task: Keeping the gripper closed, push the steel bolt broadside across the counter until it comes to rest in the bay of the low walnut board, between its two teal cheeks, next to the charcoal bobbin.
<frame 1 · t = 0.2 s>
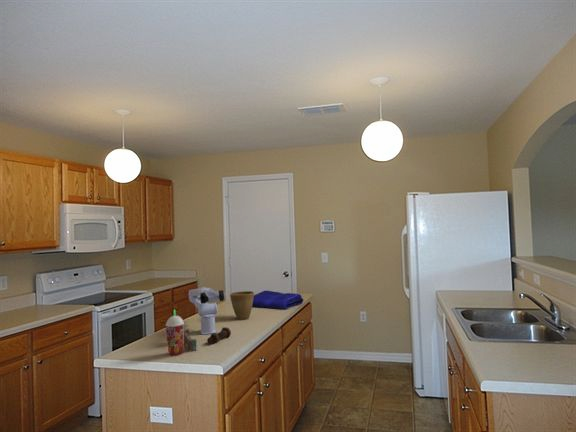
hand: (215, 298, 201), 21 cm above the worktop, tool horizontal, fingers open, 7 cm apart
bobbin: (176, 344, 198), on the worktop
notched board: (187, 345, 195), on the worktop
bolt: (218, 341, 201), on the worktop
smoothie: (176, 354, 183), on the worktop
towel: (274, 305, 289), on the worktop
plant pot: (242, 318, 249), on the worktop
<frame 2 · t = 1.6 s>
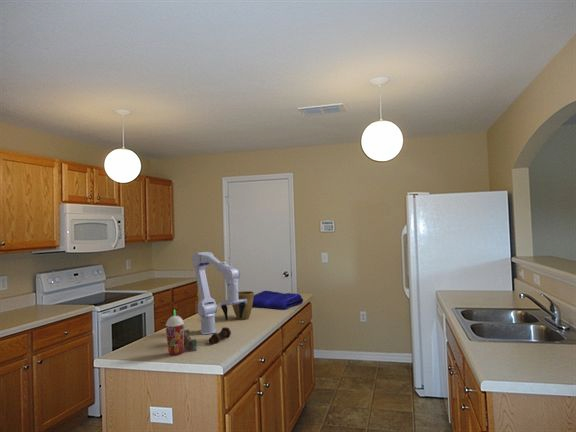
hand: (233, 318, 205), 10 cm above the worktop, tool pointing down, fingers open, 7 cm apart
nothing on the worktop moved.
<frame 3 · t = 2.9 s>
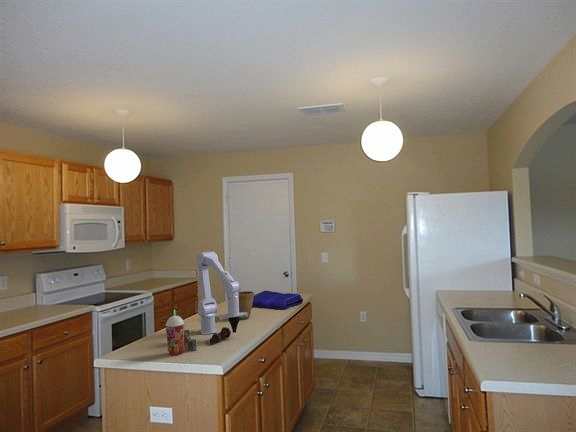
hand: (234, 332, 205), 3 cm above the worktop, tool pointing down, fingers closed
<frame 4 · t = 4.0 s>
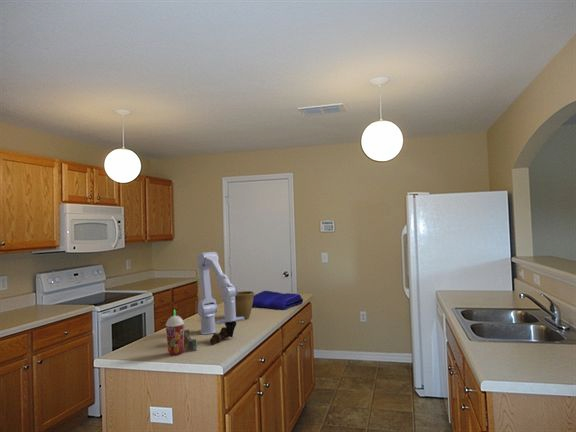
hand: (230, 336, 204), 1 cm above the worktop, tool pointing down, fingers closed
bolt: (219, 341, 201), on the worktop, touching gripper
everything else where it was.
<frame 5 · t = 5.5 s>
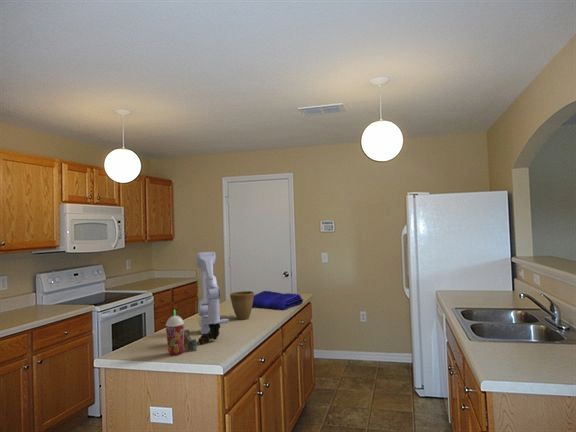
hand: (214, 339, 201), 1 cm above the worktop, tool pointing down, fingers closed
bolt: (208, 341, 202), on the worktop
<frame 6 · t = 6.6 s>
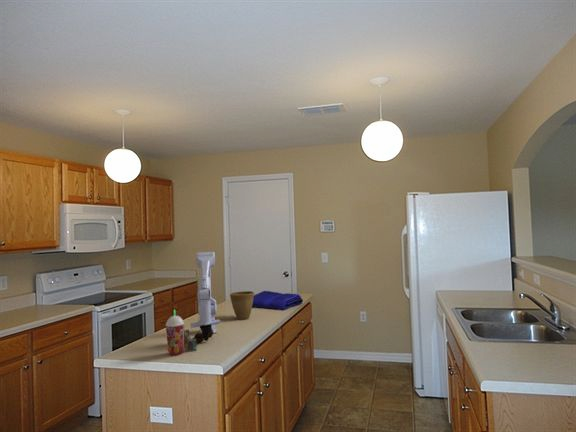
hand: (206, 340, 199), 1 cm above the worktop, tool pointing down, fingers closed
bolt: (201, 341, 203), on the worktop, touching gripper
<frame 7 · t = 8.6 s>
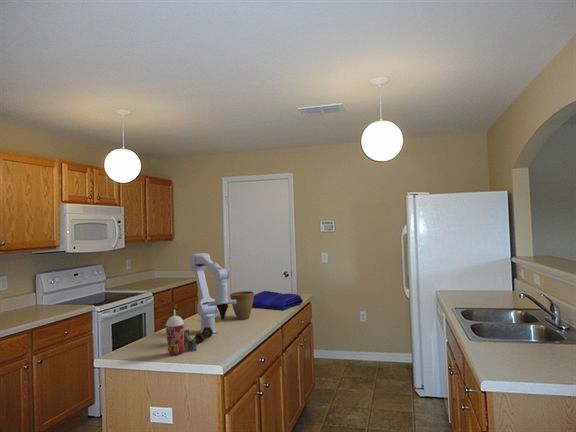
hand: (222, 319, 206), 10 cm above the worktop, tool pointing down, fingers closed
bolt: (202, 341, 203), on the worktop
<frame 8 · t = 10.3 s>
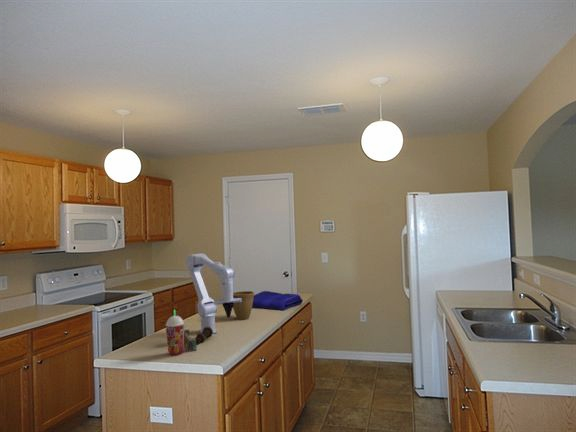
hand: (228, 317, 209), 10 cm above the worktop, tool pointing down, fingers closed
at the end: bolt inside the target area (5.9 cm from its centre), on the worktop; bolt moved 8.4 cm from its start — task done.
